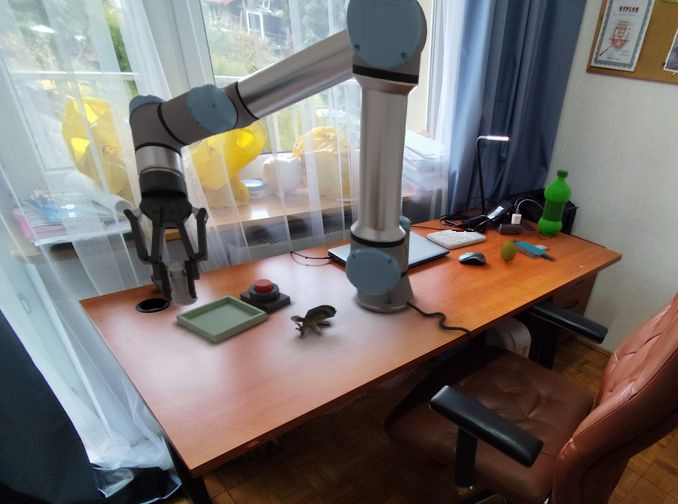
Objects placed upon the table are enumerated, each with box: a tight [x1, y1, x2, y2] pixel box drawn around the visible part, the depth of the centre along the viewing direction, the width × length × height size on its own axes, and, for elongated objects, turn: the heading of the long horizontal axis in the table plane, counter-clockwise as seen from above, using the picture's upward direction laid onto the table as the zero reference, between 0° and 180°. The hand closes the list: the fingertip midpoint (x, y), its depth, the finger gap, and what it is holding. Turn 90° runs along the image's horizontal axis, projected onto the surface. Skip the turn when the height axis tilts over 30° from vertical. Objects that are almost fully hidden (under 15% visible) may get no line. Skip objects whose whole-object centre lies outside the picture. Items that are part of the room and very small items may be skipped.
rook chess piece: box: [166, 259, 199, 307], centre depth 78 cm, size 4×4×8 cm
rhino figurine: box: [150, 272, 173, 301], centre depth 101 cm, size 4×14×6 cm, turn 49°
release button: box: [253, 278, 273, 293], centre depth 103 cm, size 4×4×2 cm
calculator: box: [426, 229, 487, 250], centre depth 158 cm, size 13×20×2 cm, turn 133°
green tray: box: [175, 294, 268, 344], centre depth 97 cm, size 13×13×2 cm
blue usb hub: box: [512, 239, 554, 261], centre depth 157 cm, size 20×12×2 cm, turn 38°
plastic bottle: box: [537, 169, 572, 237], centre depth 168 cm, size 10×10×25 cm
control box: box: [239, 282, 292, 314], centre depth 105 cm, size 10×7×4 cm
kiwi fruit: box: [499, 240, 518, 264], centre depth 142 cm, size 6×6×8 cm
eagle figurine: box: [290, 304, 338, 338], centre depth 96 cm, size 8×7×9 cm
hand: (180, 297), depth 76 cm, fingers closed on rook chess piece, 3 cm apart
